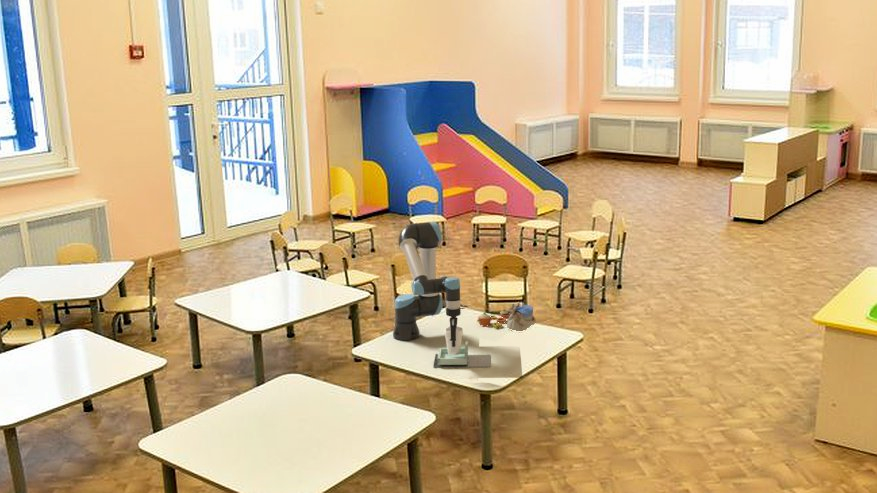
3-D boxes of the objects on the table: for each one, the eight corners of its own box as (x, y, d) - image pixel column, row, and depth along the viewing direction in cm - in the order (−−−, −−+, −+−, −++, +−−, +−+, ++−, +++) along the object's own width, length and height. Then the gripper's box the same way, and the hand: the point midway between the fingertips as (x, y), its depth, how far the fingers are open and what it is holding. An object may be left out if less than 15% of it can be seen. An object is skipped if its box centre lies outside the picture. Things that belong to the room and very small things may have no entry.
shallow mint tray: (439, 354, 460) (439, 341, 459) (468, 354, 459) (467, 341, 458) (437, 366, 443) (437, 352, 442) (467, 365, 442) (466, 352, 441)
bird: (470, 312, 538) (469, 297, 536) (466, 316, 531) (466, 300, 529) (442, 310, 544) (442, 295, 542) (438, 314, 537) (438, 298, 535)
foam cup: (463, 350, 454) (463, 326, 452) (462, 356, 445) (461, 331, 443) (445, 350, 455) (445, 326, 453) (444, 356, 446) (443, 331, 444)
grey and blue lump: (518, 319, 521) (518, 293, 518) (544, 322, 514) (543, 296, 511) (501, 331, 499) (500, 305, 495) (527, 335, 491) (527, 307, 488)
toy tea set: (500, 332, 498) (500, 316, 496) (475, 330, 504) (475, 314, 501) (514, 319, 521) (513, 304, 519) (489, 317, 527) (489, 302, 525)
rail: (435, 355, 461) (435, 353, 460) (490, 355, 459) (490, 353, 458) (433, 367, 443) (433, 365, 443) (490, 367, 441) (490, 364, 441)
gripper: (447, 301, 456) (448, 342, 461) (444, 313, 435) (446, 356, 439) (461, 301, 456) (462, 342, 460) (459, 313, 434) (460, 355, 439)
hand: (454, 349), depth 450 cm, fingers closed on foam cup, 9 cm apart
